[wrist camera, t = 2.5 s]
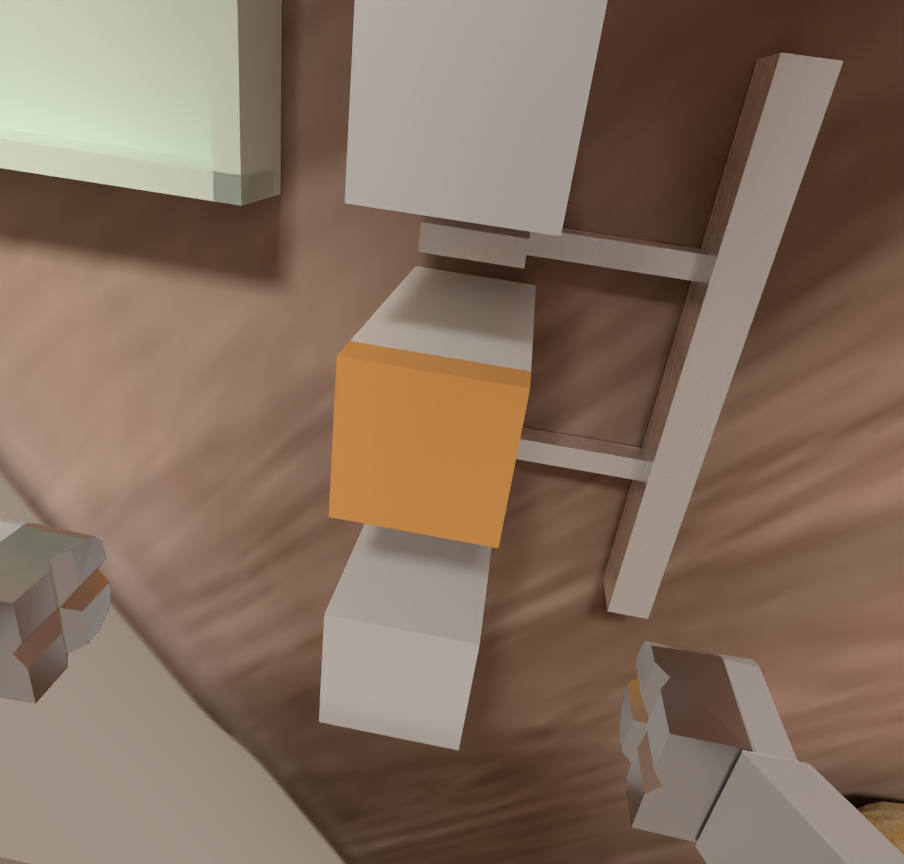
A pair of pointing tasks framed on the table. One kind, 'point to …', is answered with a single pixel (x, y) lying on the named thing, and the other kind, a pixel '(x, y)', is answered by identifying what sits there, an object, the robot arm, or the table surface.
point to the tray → (145, 94)
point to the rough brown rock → (887, 820)
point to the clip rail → (702, 319)
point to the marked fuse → (434, 407)
